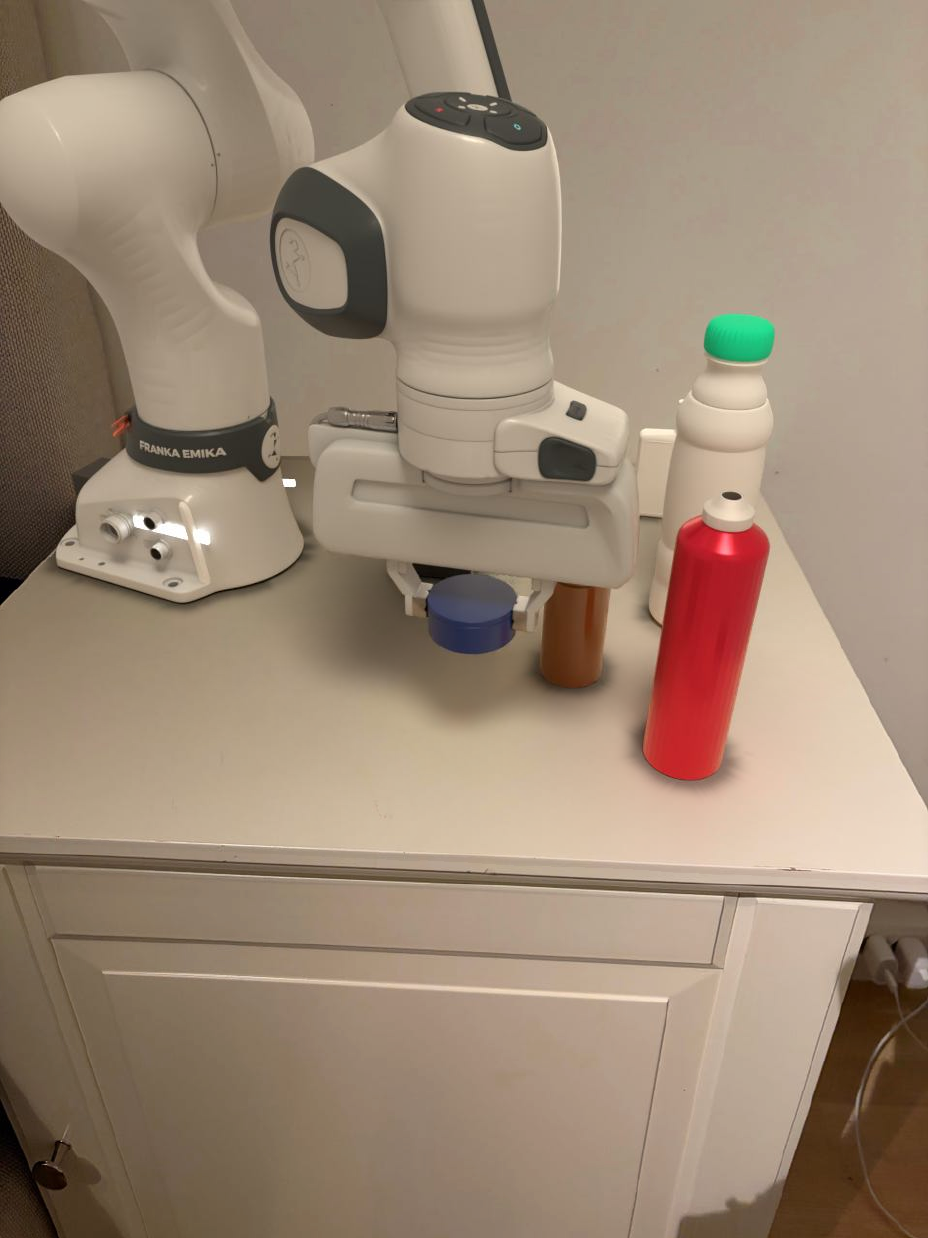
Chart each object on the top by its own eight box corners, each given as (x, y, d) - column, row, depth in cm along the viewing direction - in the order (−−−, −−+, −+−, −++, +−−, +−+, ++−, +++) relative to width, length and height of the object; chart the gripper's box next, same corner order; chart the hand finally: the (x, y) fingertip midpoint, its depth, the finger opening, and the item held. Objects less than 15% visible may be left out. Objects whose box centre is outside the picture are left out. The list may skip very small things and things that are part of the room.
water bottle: (733, 644, 76) (799, 339, 62) (645, 633, 77) (691, 331, 63) (730, 598, 81) (790, 309, 67) (649, 588, 83) (691, 302, 68)
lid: (459, 595, 65) (459, 564, 64) (532, 620, 62) (534, 589, 61) (410, 636, 61) (409, 604, 59) (486, 665, 58) (487, 632, 57)
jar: (534, 682, 71) (543, 557, 65) (545, 647, 75) (554, 525, 69) (596, 692, 70) (611, 566, 64) (604, 656, 74) (619, 533, 68)
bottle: (737, 769, 64) (800, 509, 52) (668, 788, 62) (717, 524, 51) (694, 720, 68) (744, 469, 57) (628, 737, 66) (666, 482, 55)
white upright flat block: (629, 515, 94) (643, 401, 87) (630, 506, 95) (644, 394, 89) (710, 523, 93) (731, 408, 86) (710, 514, 94) (730, 400, 87)
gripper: (283, 423, 53) (306, 624, 61) (646, 460, 49) (621, 670, 57) (324, 385, 58) (340, 575, 66) (655, 416, 54) (631, 614, 62)
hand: (472, 619), depth 61 cm, fingers closed on lid, 6 cm apart
